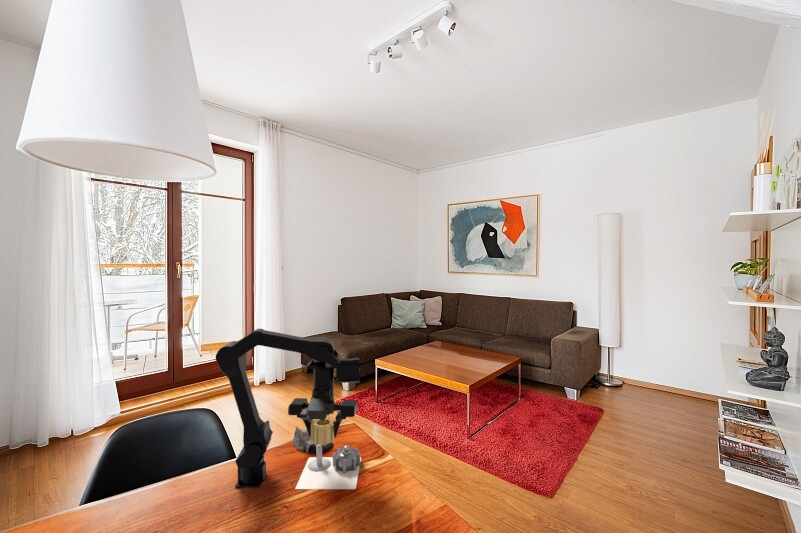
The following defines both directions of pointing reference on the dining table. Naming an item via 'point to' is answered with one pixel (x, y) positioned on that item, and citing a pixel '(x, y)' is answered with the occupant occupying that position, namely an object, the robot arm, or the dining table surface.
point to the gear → (346, 459)
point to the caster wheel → (307, 442)
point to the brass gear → (322, 431)
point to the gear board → (326, 474)
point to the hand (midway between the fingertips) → (323, 436)
